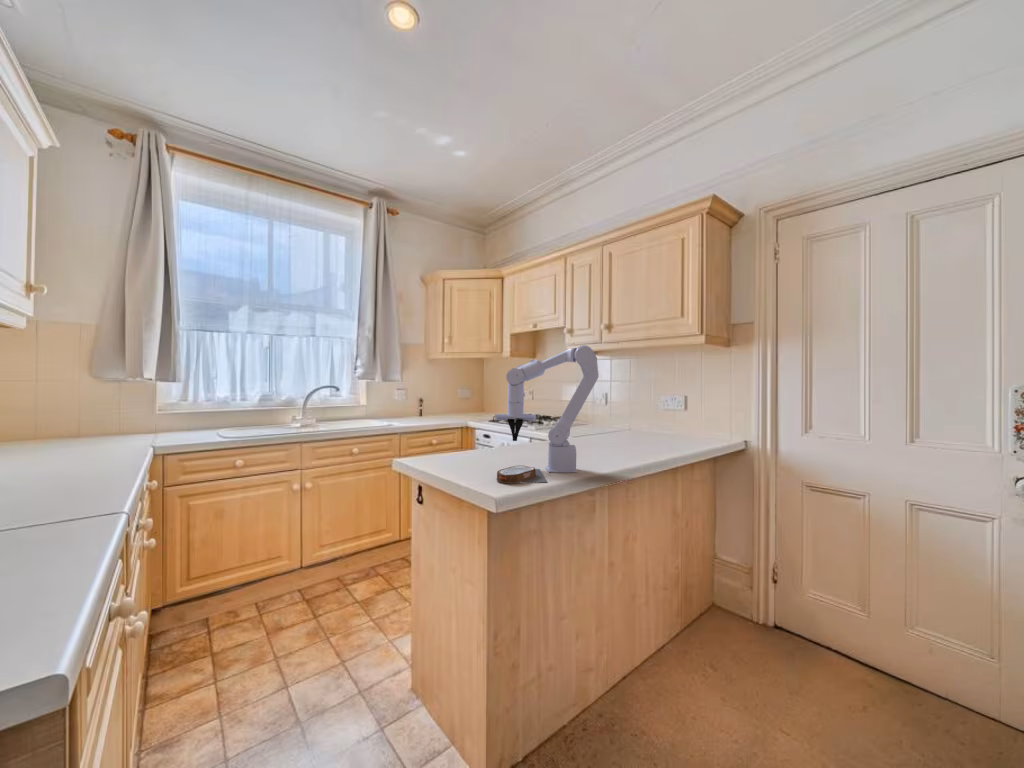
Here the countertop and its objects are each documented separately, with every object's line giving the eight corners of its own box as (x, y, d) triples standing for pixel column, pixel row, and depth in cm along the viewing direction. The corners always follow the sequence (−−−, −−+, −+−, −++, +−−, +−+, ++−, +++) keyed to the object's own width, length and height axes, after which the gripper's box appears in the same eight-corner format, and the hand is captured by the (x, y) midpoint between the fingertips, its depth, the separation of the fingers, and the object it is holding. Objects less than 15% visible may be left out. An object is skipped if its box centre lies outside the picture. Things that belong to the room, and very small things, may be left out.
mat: (539, 469, 143) (539, 468, 143) (547, 482, 126) (547, 481, 126) (508, 469, 142) (508, 468, 142) (511, 482, 125) (511, 481, 125)
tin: (490, 480, 127) (512, 487, 122) (491, 470, 127) (513, 476, 121) (519, 471, 139) (540, 477, 134) (520, 462, 138) (541, 468, 133)
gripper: (534, 401, 151) (533, 438, 151) (494, 401, 150) (494, 438, 150) (536, 403, 144) (536, 442, 144) (495, 402, 143) (494, 441, 143)
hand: (514, 440), depth 147 cm, fingers closed
